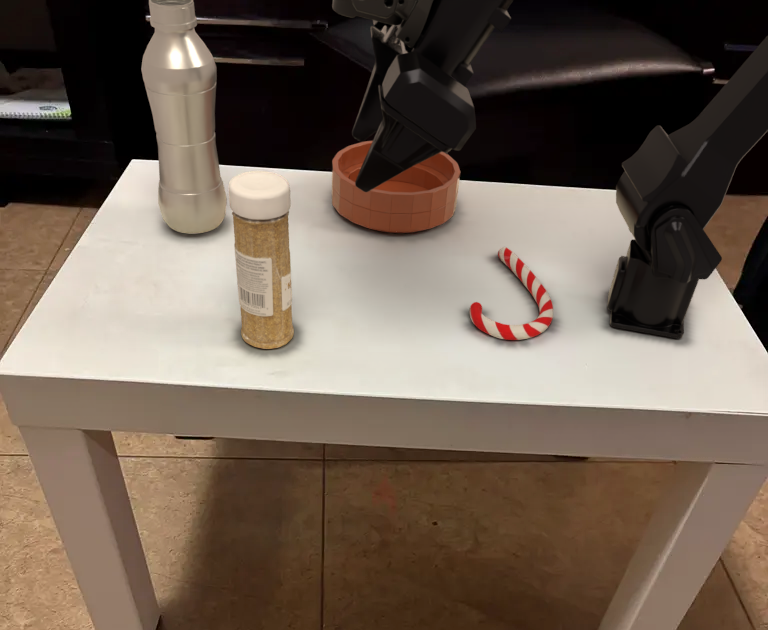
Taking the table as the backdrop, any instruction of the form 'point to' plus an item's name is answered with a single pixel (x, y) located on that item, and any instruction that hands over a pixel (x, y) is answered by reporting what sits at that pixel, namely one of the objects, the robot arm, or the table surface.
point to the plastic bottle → (184, 119)
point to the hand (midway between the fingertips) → (358, 162)
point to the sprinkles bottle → (262, 257)
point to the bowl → (396, 193)
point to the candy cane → (537, 292)
